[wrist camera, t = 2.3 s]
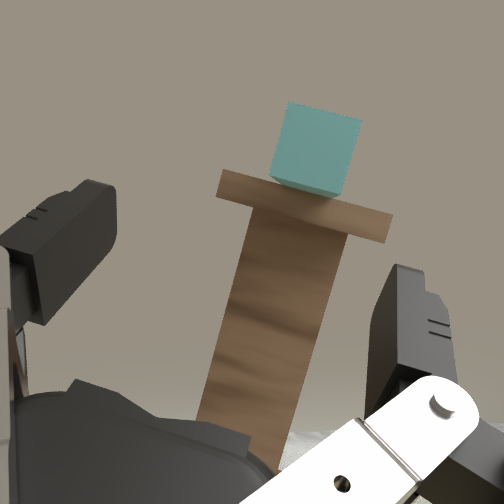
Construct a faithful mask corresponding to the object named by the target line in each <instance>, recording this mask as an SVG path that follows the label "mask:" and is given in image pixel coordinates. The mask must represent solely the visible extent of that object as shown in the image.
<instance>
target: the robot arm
mask: <svg viewBox="0 0 504 504" xmlns="http://www.w3.org/2000/svg"><path fill="white" fill-rule="evenodd" d="M116 209H117V208H116V190H115V188H114V187H113V186H111V185H107V184H104V183H100V182H96V181H93V180H90V179H87V180H84V181H83V182H82V183H81V184H79V185H78V186H77V187H76V188H75V189H73V190H72V191H71V192H68V191H64V192H61V193H59V194H56V195H53V196H51V197H48V198H47V199H46V200H45V201H43V202H42V203H41V204H39V205H38V206H37V207H36V209H33V210H32V211H31V212H29V213H28V214H27V215H26V217H23V218H22V219H20V220H19V221H18V222H16V223H15V224H14V225H13V226H11V227H10V228H9V229H8V230H6V231H5V232H4V233H3V234H1V235H0V504H413V503H414V502H415V501H416V500H417V499H418V498H419V497H420V496H422V497H423V498H425V499H426V500H428V501H429V502H431V503H432V504H504V433H503V432H501V431H499V430H498V429H496V428H494V427H493V426H491V425H489V424H488V423H486V422H484V421H483V420H482V419H481V418H479V414H478V410H477V407H476V405H475V403H474V402H473V400H472V399H471V397H470V396H469V395H468V394H467V393H466V392H465V391H464V390H463V389H462V388H460V387H459V386H458V382H457V374H456V367H455V359H454V352H453V345H452V340H451V330H450V328H449V326H450V322H449V315H448V310H447V308H446V307H445V305H444V304H443V302H442V300H441V299H440V297H439V295H437V294H433V293H429V292H426V291H425V279H424V272H423V271H420V270H417V269H413V268H410V267H406V266H403V265H399V264H394V266H393V267H392V269H391V271H390V273H389V276H388V278H387V280H386V283H385V285H384V287H383V289H382V292H381V294H380V296H379V298H378V301H377V303H376V305H375V308H374V311H373V314H372V318H371V324H370V336H369V352H368V367H367V383H366V399H365V414H364V421H362V420H361V419H360V418H355V419H353V420H351V421H350V422H348V423H347V424H346V425H344V426H343V427H341V428H340V429H339V430H337V431H336V432H335V433H333V434H332V435H331V436H329V437H328V438H327V439H325V440H324V441H323V442H321V443H320V444H319V445H317V446H316V447H315V448H313V449H312V450H311V451H309V452H308V453H307V454H305V455H304V456H302V457H301V458H300V459H298V460H297V461H296V462H294V463H293V464H292V465H290V466H289V467H288V468H286V469H285V470H284V471H282V472H281V473H280V474H278V475H276V474H275V473H274V472H273V471H272V470H271V469H270V468H269V467H268V465H267V464H266V463H264V462H263V461H262V460H261V459H259V458H258V457H257V456H256V455H254V454H253V453H251V452H250V451H248V448H249V444H250V441H251V437H252V436H249V435H246V434H243V433H240V432H237V431H234V430H231V429H228V428H225V427H221V426H218V425H215V424H212V423H209V422H204V421H191V420H178V419H166V418H158V417H155V416H153V415H151V414H150V413H148V412H147V411H145V410H143V409H142V408H141V407H139V406H137V405H136V404H134V403H133V402H131V401H130V400H128V399H126V398H125V397H124V396H122V395H121V394H119V393H117V392H114V391H111V390H108V389H105V388H102V387H99V386H96V385H93V384H90V383H87V382H84V381H81V380H78V379H75V380H74V381H73V383H72V384H71V386H70V387H69V388H68V390H67V391H66V392H63V391H61V392H60V391H58V392H45V393H38V394H34V395H29V391H28V376H27V360H26V344H25V333H24V328H23V325H24V324H25V323H26V322H27V321H30V322H33V323H37V324H40V325H43V326H45V325H46V324H47V323H48V322H49V320H50V319H51V318H52V317H53V316H54V315H55V313H56V312H57V311H58V310H59V309H60V308H61V307H62V305H63V304H64V303H65V302H66V301H67V300H68V298H69V297H70V296H71V295H72V294H73V293H74V291H76V289H77V288H78V287H79V286H80V285H81V283H83V281H84V280H85V279H86V278H87V277H88V276H89V275H90V273H91V272H92V271H93V270H94V269H95V268H96V266H97V265H98V264H99V263H100V262H101V261H102V260H103V259H104V257H105V256H106V255H107V254H108V253H109V252H110V250H111V249H112V247H113V245H114V242H115V239H116V235H117V210H116Z"/></svg>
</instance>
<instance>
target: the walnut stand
mask: <svg viewBox="0 0 504 504" xmlns="http://www.w3.org/2000/svg"><path fill="white" fill-rule="evenodd" d="M216 197H218V198H222V199H225V200H229V201H233V202H237V203H240V204H243V205H247V206H251V207H253V210H252V214H251V218H250V222H249V225H248V229H247V233H246V236H245V240H244V244H243V248H242V252H241V255H240V259H239V263H238V266H237V270H236V273H235V277H234V281H233V285H232V288H231V292H230V295H229V299H228V303H227V307H226V311H225V314H224V318H223V321H222V325H221V329H220V332H219V336H218V340H217V344H216V347H215V351H214V355H213V358H212V362H211V366H210V369H209V373H208V377H207V381H206V384H205V388H204V392H203V395H202V399H201V403H200V407H199V410H198V414H197V418H196V421H204V422H209V423H212V424H215V425H218V426H221V427H225V428H228V429H231V430H234V431H237V432H240V433H243V434H246V435H249V436H252V437H251V441H250V444H249V448H248V451H250V452H251V453H253V454H254V455H256V456H257V457H258V458H259V459H261V460H262V461H263V462H264V463H266V464H267V465H268V467H269V468H270V469H271V470H272V471H273V472H274V473H275V474H276V475H278V474H280V473H281V472H282V471H281V470H278V466H279V463H280V459H281V456H282V453H283V449H284V446H285V443H286V439H287V436H288V433H289V429H290V426H291V423H292V419H293V416H294V413H295V409H296V406H297V403H298V399H299V396H300V392H301V389H302V386H303V383H304V379H305V376H306V372H307V369H308V366H309V362H310V359H311V356H312V352H313V349H314V346H315V342H316V339H317V336H318V332H319V329H320V326H321V322H322V319H323V316H324V312H325V309H326V305H327V302H328V299H329V296H330V292H331V289H332V286H333V282H334V279H335V275H336V272H337V268H338V266H339V262H340V259H341V256H342V252H343V249H344V246H345V242H346V239H347V235H348V234H352V235H355V236H359V237H362V238H366V239H370V240H373V241H377V242H380V243H385V240H386V236H387V233H388V230H389V227H390V223H391V220H392V217H393V215H392V214H388V213H384V212H380V211H376V210H373V209H369V208H365V207H362V206H358V205H354V204H350V203H347V202H343V201H340V200H336V199H332V198H329V197H325V196H321V195H318V194H314V193H310V192H306V191H303V190H299V189H295V188H292V187H288V186H284V185H281V184H277V183H273V182H269V181H266V180H262V179H258V178H254V177H251V176H247V175H243V174H240V173H236V172H233V171H229V170H225V169H223V171H222V175H221V179H220V183H219V186H218V190H217V194H216Z"/></svg>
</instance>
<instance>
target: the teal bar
mask: <svg viewBox="0 0 504 504" xmlns="http://www.w3.org/2000/svg"><path fill="white" fill-rule="evenodd" d="M361 123H362V120H360V119H356V118H352V117H348V116H344V115H340V114H336V113H332V112H328V111H324V110H320V109H316V108H312V107H308V106H304V105H300V104H296V103H292V102H288V106H287V109H286V113H285V117H284V120H283V124H282V128H281V132H280V135H279V139H278V143H277V146H276V150H275V154H274V158H273V161H272V164H271V168H270V172H269V176H271V177H272V178H274V179H275V180H276V181H278V182H279V183H281V184H282V185H284V186H288V187H292V188H295V189H299V190H303V191H306V192H310V193H314V194H318V195H321V196H325V197H329V198H334V197H336V196H338V195H340V194H341V191H342V187H343V184H344V181H345V177H346V174H347V170H348V167H349V164H350V160H351V157H352V153H353V150H354V146H355V143H356V140H357V136H358V133H359V130H360V126H361Z"/></svg>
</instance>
